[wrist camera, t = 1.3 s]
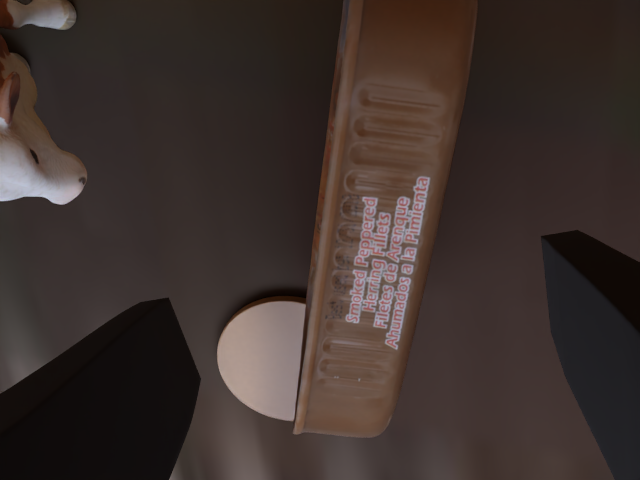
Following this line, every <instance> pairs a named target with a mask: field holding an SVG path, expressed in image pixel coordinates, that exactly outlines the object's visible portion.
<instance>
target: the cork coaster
mask: <svg viewBox="0 0 640 480" xmlns="http://www.w3.org/2000/svg"><path fill="white" fill-rule="evenodd" d="M305 308H306V298H302V297H295V296H274V297H268V298H264V299H260V300H257V301H255V302H252V303H250V304H248V305H246V306H245V307H243V308H242V309H240V310H239V311H238V312H236V313H235V314H234V315H233V316H232V317H231V319H230V320H229V321H228V322H227V324H226V326H225V328H224V329H223V331H222V334H221V336H220V339H219V342H218V348H217V361H218V367H219V370H220V373H221V376H222V378H223V380H224V382H225V383H226V385H227V387H228V388H229V389H230V390H231V392H232V393H233V394H234V395H235V396H236V397H237V398H238V399H239V400H240V401H241V402H243V403H244V404H245V405H247V406H248V407H250V408H252V409H253V410H255V411H257V412H259V413H261V414H264V415H266V416H269V417H272V418H276V419H280V420H288V421H294V416H295V403H296V398H297V385H298V378H299V370H300V358H301V347H302V339H303V326H304V318H305Z"/></svg>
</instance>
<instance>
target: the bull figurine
mask: <svg viewBox="0 0 640 480" xmlns="http://www.w3.org/2000/svg"><path fill="white" fill-rule="evenodd" d="M75 21H76V11H75V8H74V6H73V5H72V4H71V3H70V2H69V1H68V0H33V1H32V2H31V3H30V4H28V5H23V4H21V3H19V2H17V1H14V0H0V28H5V29H18V28H20V27H21V26H23V25H25V24H34V25H37V26H41V27H49V28H54V29H59V30H66V29H69V28H70V27H72V26H73V25H74V23H75ZM36 100H37V89H36V85H35V82H34V79H33V78H32V77H31V75H30V67H29V65H28V63H27V61H26V60H25V59H24V58H23V57H22V56H20V55H18V54H17V53H10V52H9V50H8V47H7V44H6V42H5V40H4V39H3V37H2V36H1V34H0V201H9V200H14V199H18V198H21V197H25V196H29V197H37V196H39V197H45V198H47V199H49V200H50V201H51V202H52V203H55V204H62V205H63V204H67V203H68V202H70V201H71V200H73V199H74V198H75V197H77V196H78V195H79V194H80V192H81V191H82V189H83V187H84V185H85V183H86V180H87V171H86V168H85V166H84V165H83V163H82V162H81V160H80V159H79V158H78V157H76V156H75V155H73V154H71V153H69V152H66V151H63V150H61V149H60V148H58V147H57V145H56V144H55V143H54V142H53V140H52V139H51V137H50V134H49V132H48V130H47V129H46V127H45V126H44V124H43V123H42V122H41V120H40V119H39V117H38V116H37V114H36V113H35V111H34V106H35V103H36Z"/></svg>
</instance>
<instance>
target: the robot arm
mask: <svg viewBox="0 0 640 480" xmlns="http://www.w3.org/2000/svg"><path fill="white" fill-rule="evenodd" d="M541 240H542V250H543V259H544V269H545V279H546V288H547V298H548V308H549V318H550V327H551V333H552V337H553V340H554V343H555V346H556V349H557V352H558V356H559V359H560V362H561V365H562V368H563V371H564V374H565V377H566V379H567V381H568V383H569V385H570V388H571V390H572V392H573V394H574V396H575V398H576V400H577V402H578V404H579V406H580V409H581V411H582V413H583V415H584V417H585V419H586V421H587V423H588V425H589V427H590V429H591V431H592V433H593V435H594V437H595V439H596V441H597V444H598V446H599V448H600V450H601V452H602V454H603V456H604V458H605V460H606V462H607V464H608V466H609V468H610V470H611V472H612V474H613V476H614V479H615V480H640V262H638V261H636V260H634V259H632V258H630V257H628V256H626V255H624V254H622V253H621V252H619V251H617V250H615V249H613V248H611V247H609V246H607V245H606V244H604V243H602V242H600V241H598V240H596V239H594V238H593V237H591V236H589V235H587V234H585V233H583V232H580V231H578V230H575V231H569V232H563V233H557V234H551V235H545V236H541ZM200 381H201V378H200V375H199V373H198V370H197V368H196V365H195V363H194V360H193V358H192V355H191V353H190V350H189V348H188V345H187V343H186V340H185V338H184V335H183V333H182V330H181V328H180V325H179V322H178V320H177V317H176V315H175V312H174V310H173V307H172V305H171V302H170V300H169V298H163V299H157V300H151V301H145V302H140V303H138V304H136V305H134V306H132V307H131V308H129V309H127V310H125V311H124V312H122V313H120V314H119V315H117V316H116V317H114V318H113V319H111V320H110V321H108V322H107V323H105V324H104V325H102V326H101V327H99V328H98V329H97V330H95V331H94V332H92V333H91V334H89V335H88V336H86V337H85V338H84V339H82V340H81V341H79V342H78V343H76V344H75V345H74V346H72V347H71V348H69V349H68V350H66V351H65V352H64V353H62V354H61V355H59V356H58V357H56V358H55V359H53V360H52V361H50V362H49V363H47V364H46V365H44V366H43V367H41V368H40V369H38V370H37V371H35V372H34V373H32V374H31V375H29V376H27V377H26V378H24V379H23V380H21V381H20V382H18V383H17V384H15V385H14V386H12V387H11V388H9V389H7V390H6V391H4V392H3V393H1V394H0V480H169V478H170V476H171V473H172V471H173V468H174V466H175V463H176V461H177V458H178V456H179V453H180V450H181V448H182V445H183V443H184V440H185V438H186V435H187V432H188V430H189V427H190V424H191V421H192V417H193V413H194V409H195V405H196V400H197V396H198V391H199V386H200Z"/></svg>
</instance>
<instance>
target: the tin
mask: <svg viewBox="0 0 640 480" xmlns="http://www.w3.org/2000/svg"><path fill="white" fill-rule="evenodd" d="M477 8H478V0H343V10H342V20H341V26H340V33H339V40H338V47H337V55H336V63H335V71H334V79H333V86H332V95H331V103H330V111H329V119H328V127H327V134H326V142H325V151H324V157H323V165H322V174H321V181H320V188H319V196H318V204H317V212H316V220H315V229H314V237H313V245H312V255H311V266H310V272H309V280H308V288H307V297H306V308H305V318H304V326H303V339H302V347H301V358H300V370H299V378H298V385H297V398H296V403H295V416H294V423H293V433H294V434H300V433H302V432H312V433H321V434H330V435H339V436H348V437H363V438H368V437H375V436H378V435H380V434H381V433H382V432H383V431H384V430H385V429H386V428H387V426H388V424H389V422H390V420H391V418H392V415H393V413H394V410H395V407H396V404H397V401H398V398H399V394H400V390H401V387H402V383H403V379H404V375H405V370H406V365H407V361H408V357H409V353H410V349H411V344H412V340H413V336H414V332H415V328H416V324H417V319H418V315H419V309H420V305H421V301H422V297H423V293H424V288H425V284H426V279H427V275H428V270H429V266H430V261H431V256H432V251H433V246H434V242H435V238H436V234H437V230H438V225H439V221H440V216H441V211H442V206H443V201H444V196H445V191H446V187H447V183H448V179H449V174H450V169H451V163H452V159H453V154H454V149H455V145H456V140H457V135H458V130H459V125H460V121H461V116H462V111H463V107H464V101H465V95H466V90H467V84H468V78H469V72H470V65H471V59H472V52H473V45H474V37H475V28H476V20H477Z"/></svg>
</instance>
